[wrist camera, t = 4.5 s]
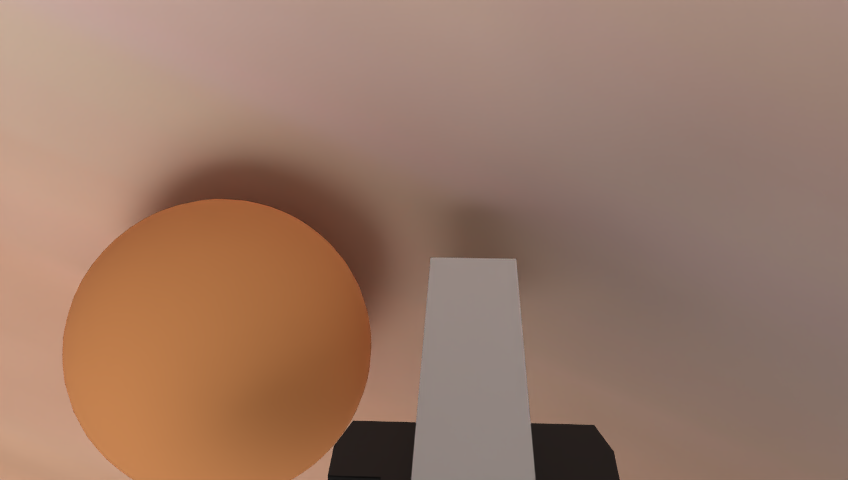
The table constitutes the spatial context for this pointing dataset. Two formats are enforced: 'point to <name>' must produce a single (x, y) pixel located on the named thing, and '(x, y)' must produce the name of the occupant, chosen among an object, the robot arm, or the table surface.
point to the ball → (216, 345)
